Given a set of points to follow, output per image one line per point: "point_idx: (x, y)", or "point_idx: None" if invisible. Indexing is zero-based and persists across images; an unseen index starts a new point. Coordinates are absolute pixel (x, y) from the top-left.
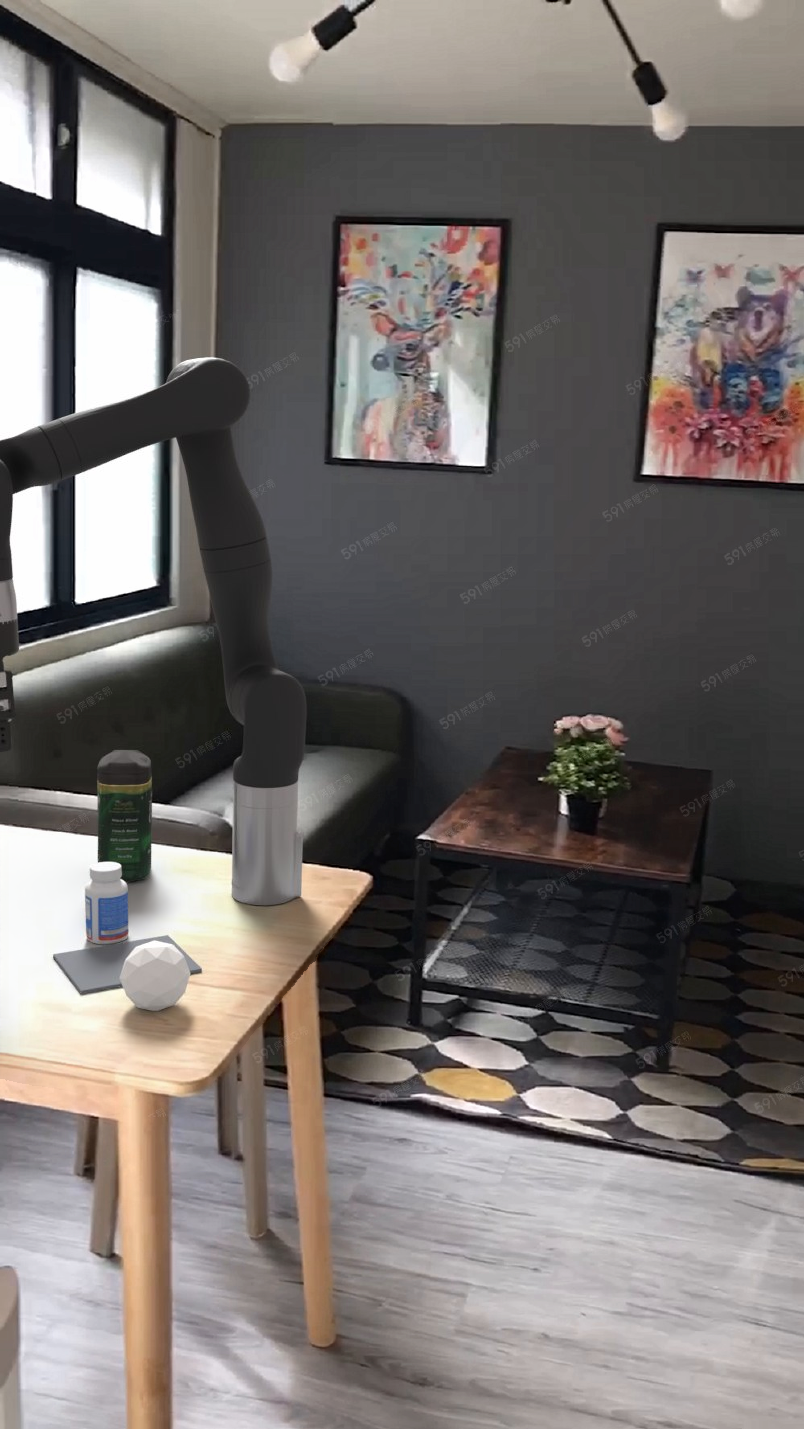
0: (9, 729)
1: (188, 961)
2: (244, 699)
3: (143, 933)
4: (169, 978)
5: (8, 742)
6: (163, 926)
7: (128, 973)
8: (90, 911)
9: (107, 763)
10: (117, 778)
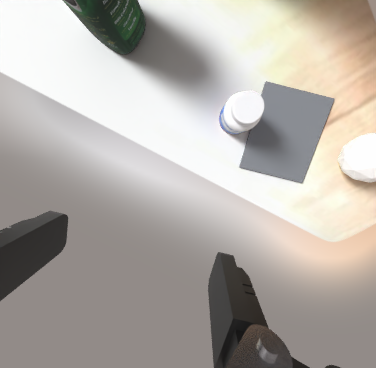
0: (244, 297)
1: (317, 99)
2: None
3: None
4: None
5: (249, 280)
6: (243, 70)
7: (373, 181)
8: (240, 132)
9: None
10: None
